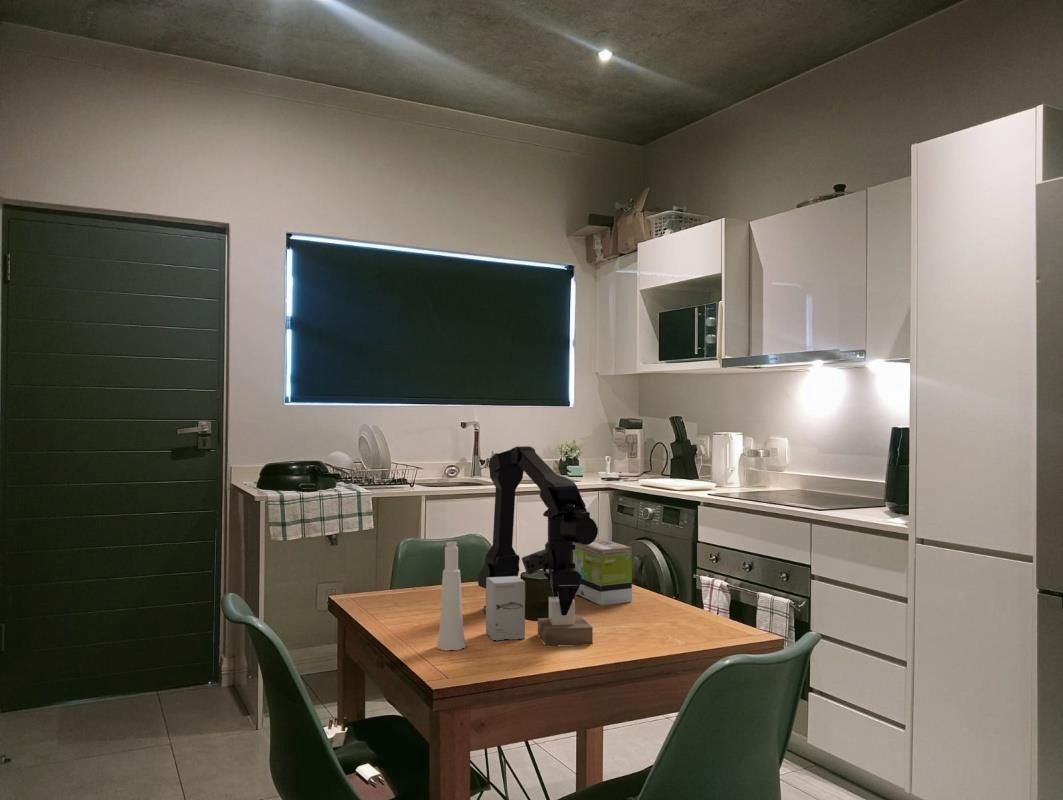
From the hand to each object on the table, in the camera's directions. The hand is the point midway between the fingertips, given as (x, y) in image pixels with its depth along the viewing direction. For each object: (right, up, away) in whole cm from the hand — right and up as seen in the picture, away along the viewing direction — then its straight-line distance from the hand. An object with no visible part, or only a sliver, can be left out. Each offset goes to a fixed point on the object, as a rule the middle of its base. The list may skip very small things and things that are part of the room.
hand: (560, 610), depth 180 cm
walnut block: (+1, -6, -1) cm, 7 cm away
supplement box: (-12, -6, +1) cm, 14 cm away
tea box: (+13, -7, +39) cm, 42 cm away
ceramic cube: (0, -2, 0) cm, 2 cm away
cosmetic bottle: (-23, -6, -8) cm, 25 cm away
